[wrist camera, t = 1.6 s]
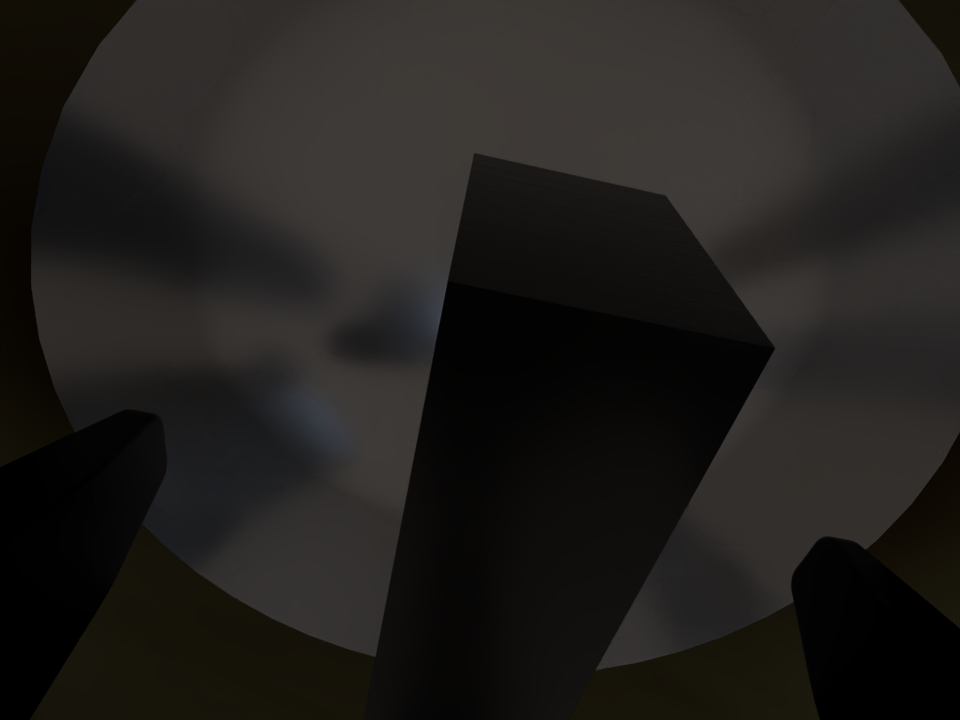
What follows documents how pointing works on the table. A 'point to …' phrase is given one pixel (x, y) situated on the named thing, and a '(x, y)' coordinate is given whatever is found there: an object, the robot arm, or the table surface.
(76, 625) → the robot arm
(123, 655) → the table surface
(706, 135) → the lid
